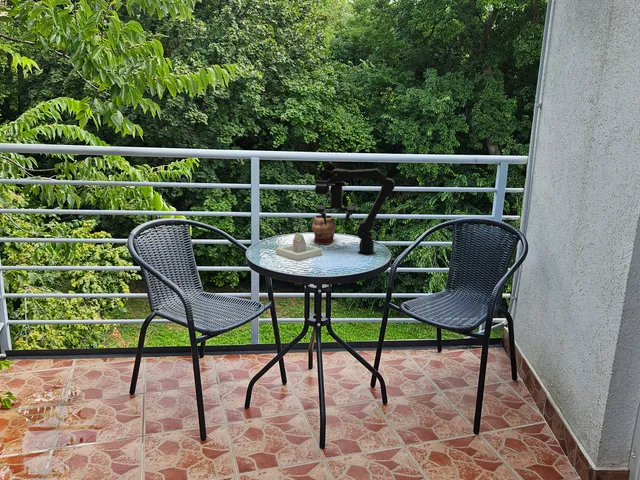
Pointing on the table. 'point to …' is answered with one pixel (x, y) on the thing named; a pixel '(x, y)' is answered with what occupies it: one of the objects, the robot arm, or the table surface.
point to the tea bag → (299, 243)
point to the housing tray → (288, 253)
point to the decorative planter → (324, 229)
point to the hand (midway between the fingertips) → (335, 226)
